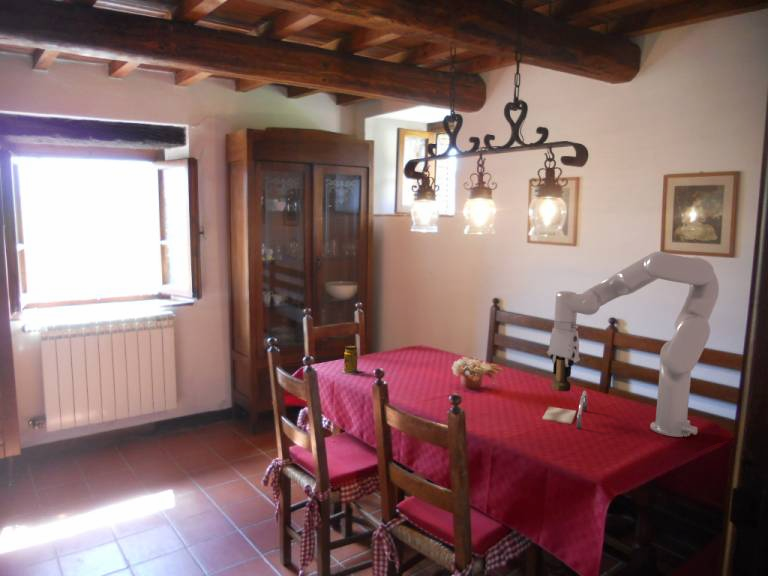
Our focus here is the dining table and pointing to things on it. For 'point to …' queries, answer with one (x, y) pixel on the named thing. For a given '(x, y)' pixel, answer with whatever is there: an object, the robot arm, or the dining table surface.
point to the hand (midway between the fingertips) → (561, 374)
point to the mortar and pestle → (560, 377)
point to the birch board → (559, 415)
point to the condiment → (350, 360)
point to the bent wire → (581, 408)
